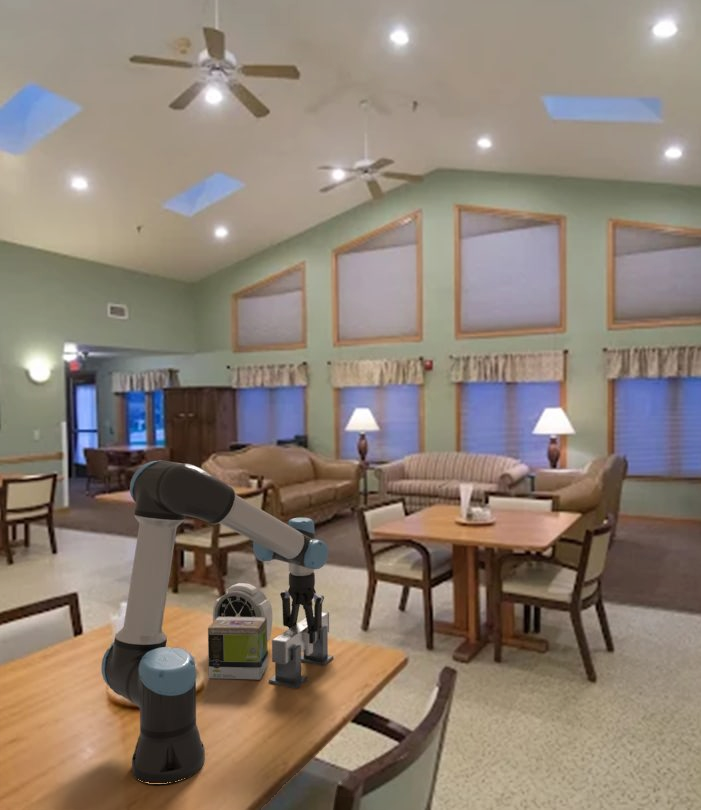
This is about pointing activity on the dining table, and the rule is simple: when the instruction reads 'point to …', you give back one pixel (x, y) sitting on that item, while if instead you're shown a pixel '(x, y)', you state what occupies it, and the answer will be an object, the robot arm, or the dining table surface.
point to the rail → (294, 640)
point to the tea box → (237, 648)
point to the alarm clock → (244, 604)
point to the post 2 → (319, 650)
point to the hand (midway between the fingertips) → (302, 652)
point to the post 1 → (289, 671)
